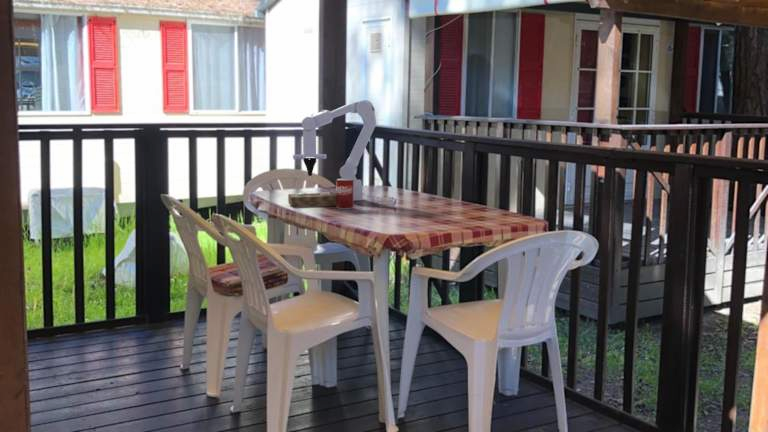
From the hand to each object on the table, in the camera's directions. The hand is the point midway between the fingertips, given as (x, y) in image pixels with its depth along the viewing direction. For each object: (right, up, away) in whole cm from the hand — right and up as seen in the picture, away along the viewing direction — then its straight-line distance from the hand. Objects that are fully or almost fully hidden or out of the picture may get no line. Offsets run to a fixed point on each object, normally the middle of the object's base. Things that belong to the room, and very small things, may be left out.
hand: (309, 175), depth 363 cm
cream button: (+8, -12, -13) cm, 19 cm away
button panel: (+3, -13, -14) cm, 19 cm away
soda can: (+17, -15, -24) cm, 32 cm away
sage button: (-2, -12, -15) cm, 19 cm away
